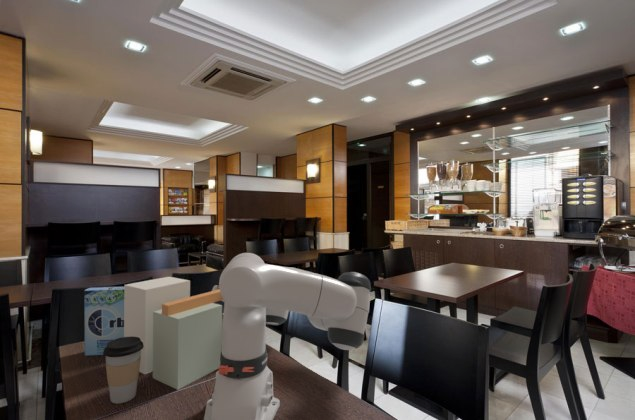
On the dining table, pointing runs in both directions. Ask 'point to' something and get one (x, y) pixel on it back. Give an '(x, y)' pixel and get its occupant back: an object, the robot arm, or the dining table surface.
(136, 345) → the coffee cup
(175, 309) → the orange rod
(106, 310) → the gum box
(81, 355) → the dining table surface
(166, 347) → the low stand
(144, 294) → the tall stand
